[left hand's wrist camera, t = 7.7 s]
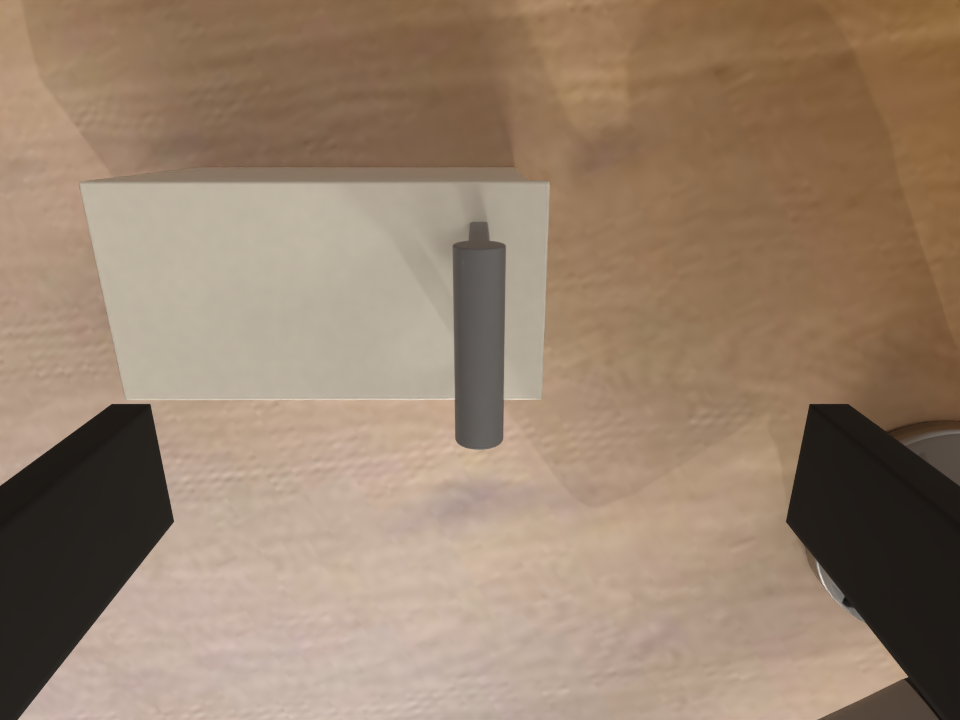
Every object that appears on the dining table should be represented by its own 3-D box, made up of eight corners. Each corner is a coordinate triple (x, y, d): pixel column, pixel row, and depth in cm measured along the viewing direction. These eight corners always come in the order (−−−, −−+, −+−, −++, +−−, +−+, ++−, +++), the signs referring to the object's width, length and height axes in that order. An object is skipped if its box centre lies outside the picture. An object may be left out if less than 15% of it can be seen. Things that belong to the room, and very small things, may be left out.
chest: (515, 167, 34) (529, 179, 25) (512, 326, 38) (523, 391, 28) (200, 167, 34) (91, 180, 25) (223, 325, 37) (136, 392, 28)
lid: (547, 179, 25) (577, 199, 17) (540, 392, 28) (562, 487, 20) (91, 179, 25) (-78, 200, 17) (135, 392, 28) (9, 487, 20)
